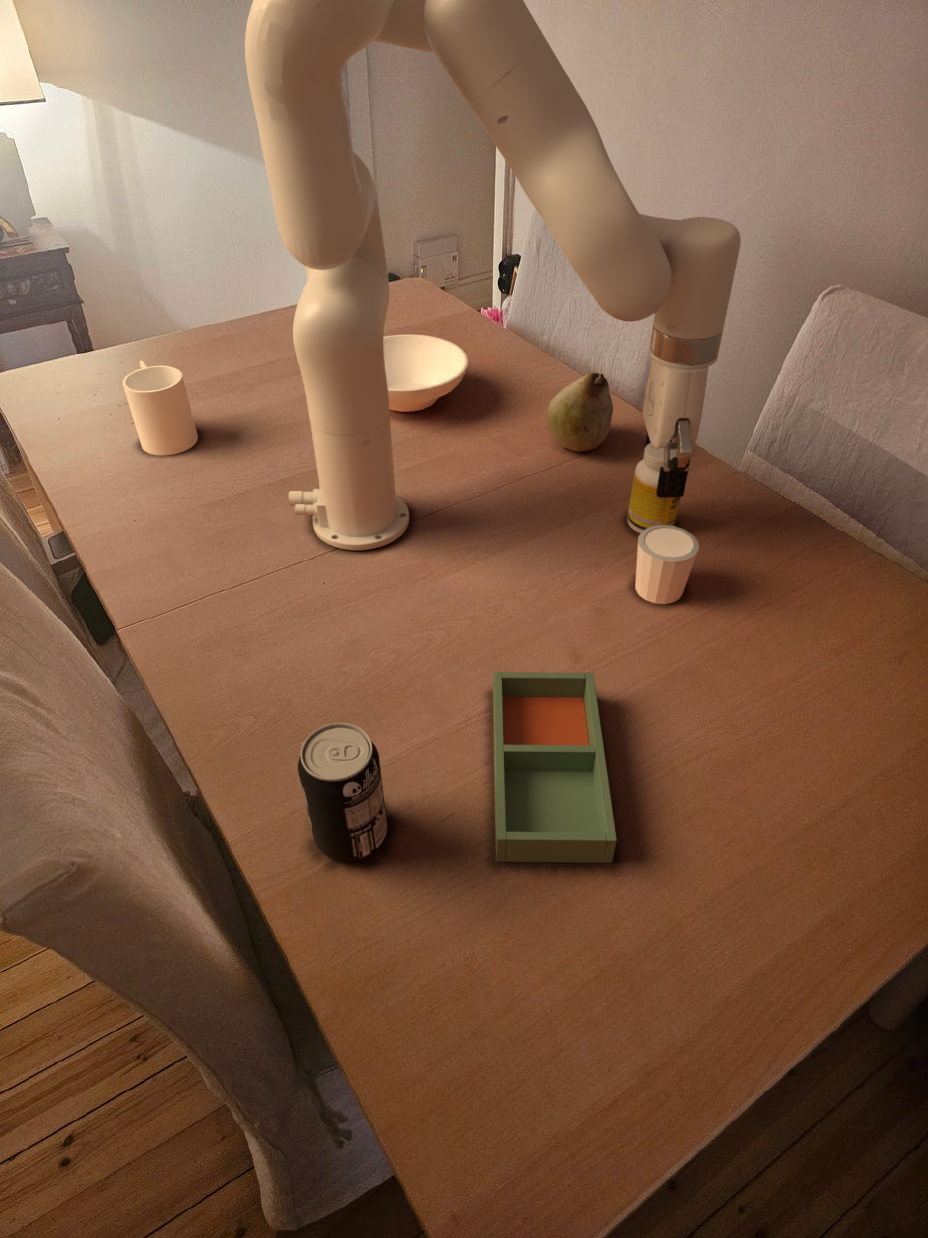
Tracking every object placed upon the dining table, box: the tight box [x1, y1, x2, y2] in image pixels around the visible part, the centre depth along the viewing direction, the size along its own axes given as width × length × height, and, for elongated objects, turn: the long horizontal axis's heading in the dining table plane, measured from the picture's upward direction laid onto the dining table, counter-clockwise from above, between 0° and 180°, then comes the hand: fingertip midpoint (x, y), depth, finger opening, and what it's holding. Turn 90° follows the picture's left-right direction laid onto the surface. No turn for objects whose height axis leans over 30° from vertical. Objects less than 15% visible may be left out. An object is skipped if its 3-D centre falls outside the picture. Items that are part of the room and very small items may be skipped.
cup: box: [121, 360, 199, 456], centre depth 121 cm, size 8×12×10 cm
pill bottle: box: [626, 441, 681, 535], centre depth 104 cm, size 6×6×11 cm
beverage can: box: [297, 722, 388, 863], centre depth 70 cm, size 7×7×12 cm
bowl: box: [384, 333, 469, 413], centre depth 130 cm, size 20×20×7 cm
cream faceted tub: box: [634, 525, 700, 605], centre depth 96 cm, size 7×7×7 cm
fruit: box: [546, 372, 614, 453], centre depth 118 cm, size 10×9×12 cm
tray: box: [492, 671, 618, 864], centre depth 77 cm, size 10×19×4 cm, turn 179°
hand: (662, 473), depth 102 cm, fingers open, 9 cm apart
